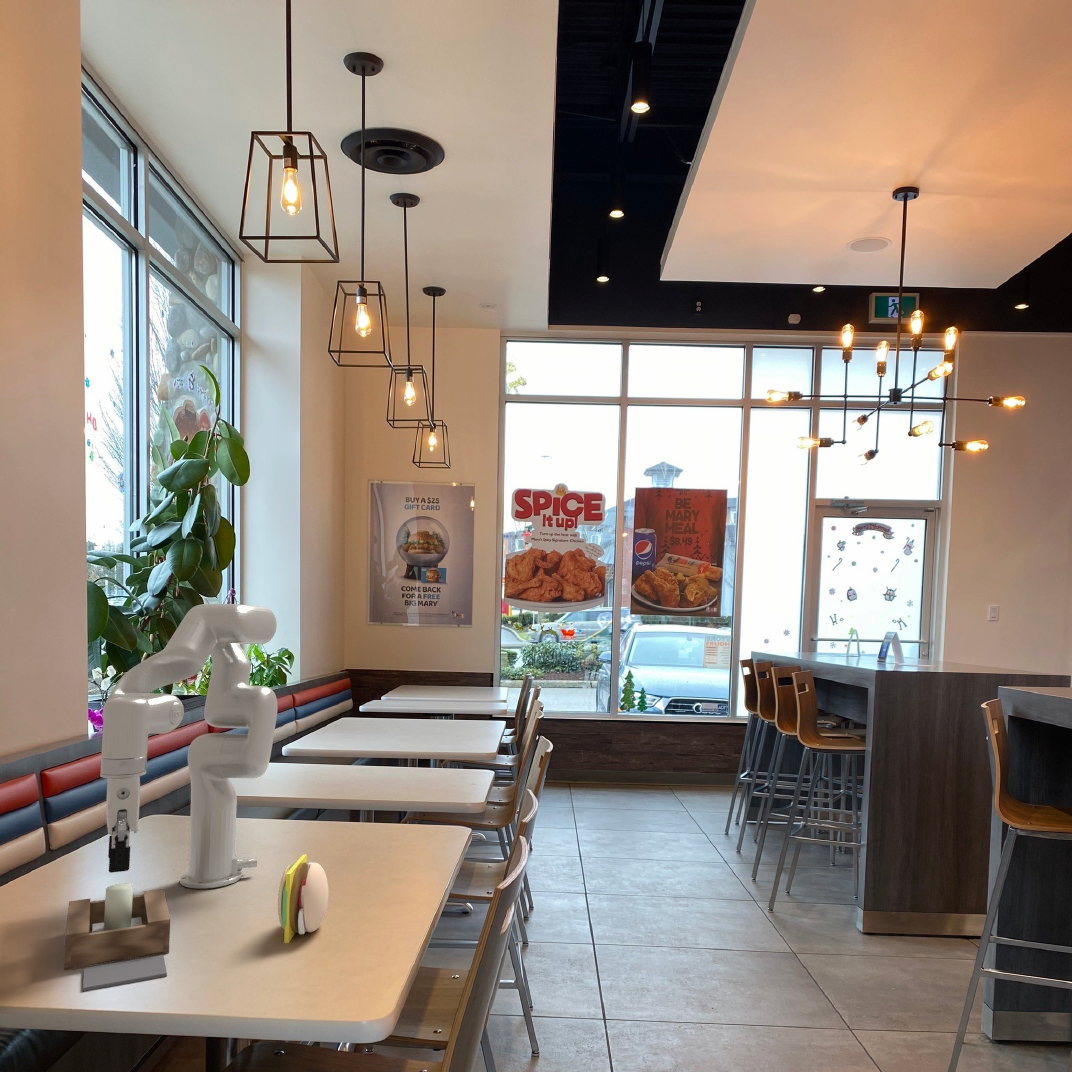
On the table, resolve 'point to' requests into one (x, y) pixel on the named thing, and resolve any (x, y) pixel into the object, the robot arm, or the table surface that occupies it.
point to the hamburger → (302, 898)
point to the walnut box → (116, 931)
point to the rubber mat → (124, 972)
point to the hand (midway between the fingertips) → (118, 864)
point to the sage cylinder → (118, 906)
